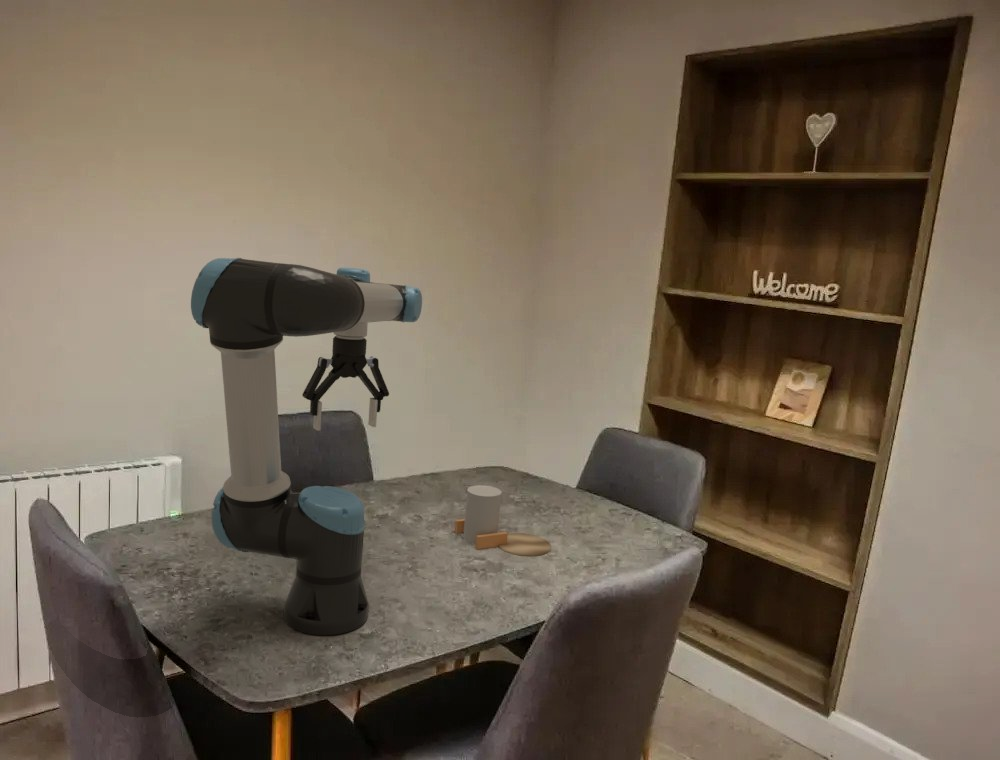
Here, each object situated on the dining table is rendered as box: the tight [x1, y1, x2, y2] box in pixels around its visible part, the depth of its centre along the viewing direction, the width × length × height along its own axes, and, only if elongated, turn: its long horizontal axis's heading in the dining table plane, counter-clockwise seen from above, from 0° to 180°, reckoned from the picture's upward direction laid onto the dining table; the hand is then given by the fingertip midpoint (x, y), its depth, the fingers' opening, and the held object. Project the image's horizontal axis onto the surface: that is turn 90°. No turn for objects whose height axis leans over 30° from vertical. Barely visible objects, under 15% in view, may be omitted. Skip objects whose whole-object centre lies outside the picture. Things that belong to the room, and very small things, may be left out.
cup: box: [463, 484, 502, 545], centre depth 186 cm, size 8×8×12 cm
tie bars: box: [454, 518, 509, 550], centre depth 187 cm, size 12×8×3 cm
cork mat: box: [498, 532, 552, 557], centre depth 186 cm, size 13×13×1 cm
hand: (345, 427), depth 181 cm, fingers open, 13 cm apart
